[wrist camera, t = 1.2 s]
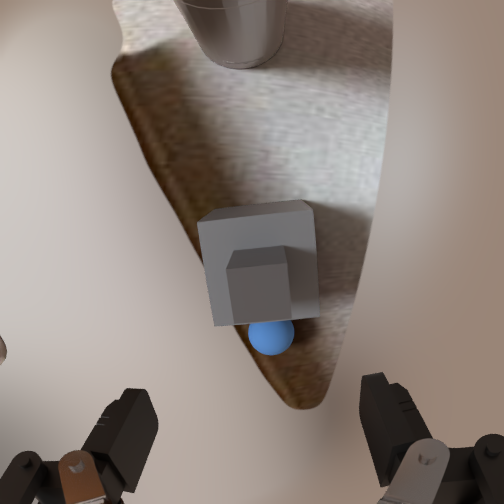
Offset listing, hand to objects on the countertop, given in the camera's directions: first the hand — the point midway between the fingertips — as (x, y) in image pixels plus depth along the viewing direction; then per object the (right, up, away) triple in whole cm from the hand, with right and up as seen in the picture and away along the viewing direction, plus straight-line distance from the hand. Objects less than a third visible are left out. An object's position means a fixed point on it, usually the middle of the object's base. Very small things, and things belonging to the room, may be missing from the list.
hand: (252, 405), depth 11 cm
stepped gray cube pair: (+1, +6, +24) cm, 25 cm away
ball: (+2, -3, +24) cm, 24 cm away
